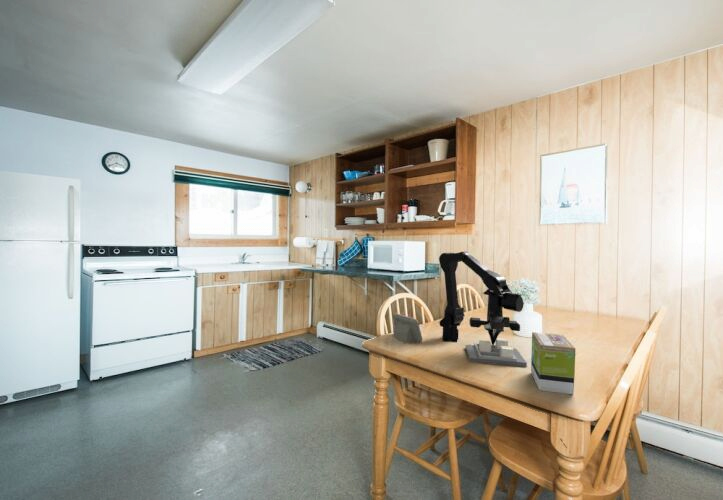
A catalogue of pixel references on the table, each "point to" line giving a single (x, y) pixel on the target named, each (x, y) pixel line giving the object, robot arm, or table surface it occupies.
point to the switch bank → (493, 356)
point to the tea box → (553, 363)
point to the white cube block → (484, 346)
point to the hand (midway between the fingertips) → (492, 344)
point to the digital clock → (406, 328)
